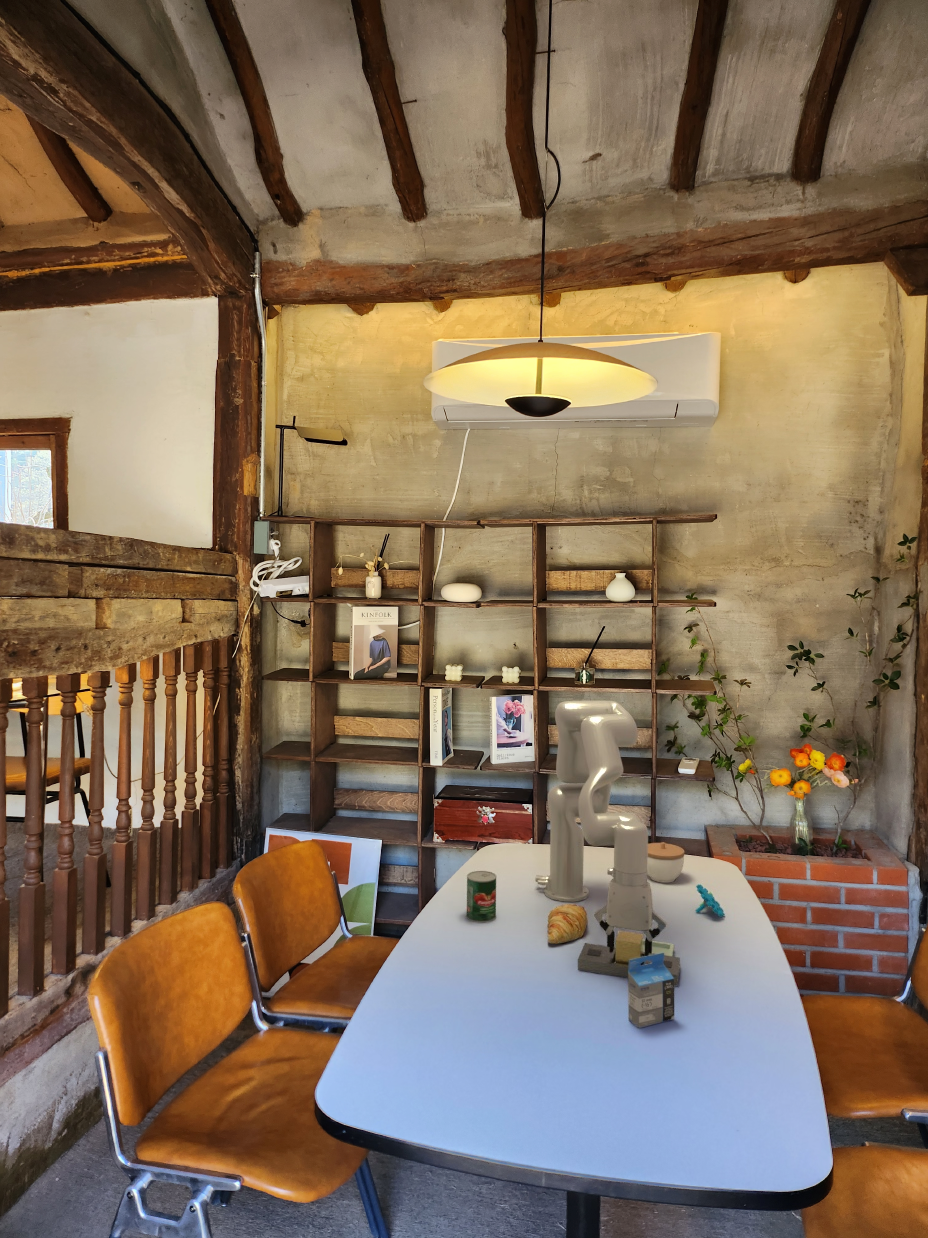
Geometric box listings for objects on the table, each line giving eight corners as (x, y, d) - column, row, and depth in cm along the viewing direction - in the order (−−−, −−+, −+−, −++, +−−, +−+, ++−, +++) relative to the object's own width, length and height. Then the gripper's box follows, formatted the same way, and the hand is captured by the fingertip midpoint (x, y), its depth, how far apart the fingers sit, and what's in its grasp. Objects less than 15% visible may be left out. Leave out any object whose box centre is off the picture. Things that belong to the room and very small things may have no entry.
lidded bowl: (688, 886, 233) (689, 849, 233) (646, 886, 233) (646, 849, 233) (677, 872, 246) (678, 837, 245) (637, 871, 246) (638, 836, 246)
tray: (619, 957, 186) (619, 950, 186) (623, 943, 194) (623, 936, 194) (671, 965, 182) (671, 958, 182) (673, 950, 190) (673, 944, 190)
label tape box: (639, 1029, 155) (640, 967, 155) (626, 1019, 159) (627, 959, 158) (675, 1020, 158) (676, 960, 158) (662, 1010, 162) (663, 951, 162)
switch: (577, 970, 180) (577, 958, 179) (584, 953, 188) (585, 942, 188) (677, 986, 172) (677, 974, 172) (679, 968, 181) (680, 957, 181)
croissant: (561, 964, 190) (576, 939, 188) (528, 937, 194) (542, 912, 192) (590, 930, 209) (604, 907, 207) (559, 906, 213) (572, 883, 211)
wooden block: (615, 972, 178) (615, 940, 178) (618, 962, 184) (619, 930, 184) (639, 977, 177) (640, 944, 177) (642, 966, 182) (643, 934, 182)
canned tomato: (484, 925, 204) (485, 883, 203) (460, 917, 208) (460, 876, 208) (501, 915, 210) (502, 875, 210) (478, 908, 215) (478, 868, 214)
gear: (725, 918, 206) (698, 886, 209) (708, 932, 207) (681, 900, 210) (727, 908, 216) (701, 878, 220) (711, 922, 217) (685, 892, 221)
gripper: (589, 877, 179) (588, 954, 179) (668, 887, 173) (666, 966, 174) (595, 866, 186) (594, 940, 186) (670, 876, 180) (669, 952, 181)
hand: (629, 952), depth 180 cm, fingers open, 7 cm apart
